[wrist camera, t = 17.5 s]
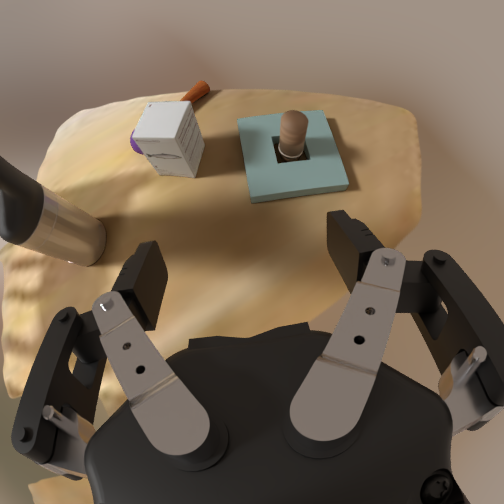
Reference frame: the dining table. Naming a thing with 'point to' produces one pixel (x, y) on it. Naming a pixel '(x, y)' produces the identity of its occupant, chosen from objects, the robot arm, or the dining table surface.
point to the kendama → (191, 96)
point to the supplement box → (170, 138)
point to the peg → (292, 135)
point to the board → (290, 173)
